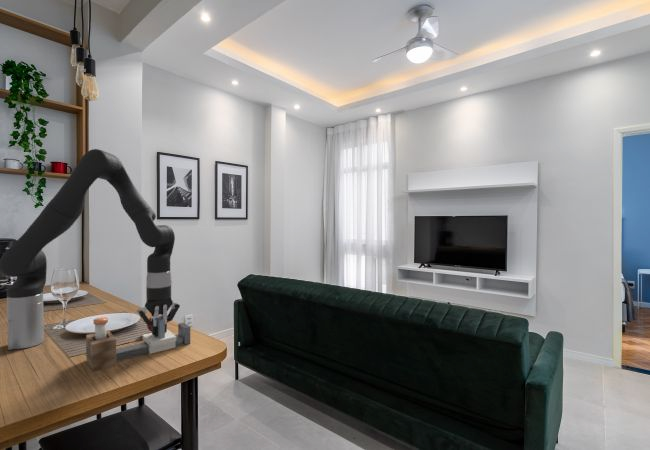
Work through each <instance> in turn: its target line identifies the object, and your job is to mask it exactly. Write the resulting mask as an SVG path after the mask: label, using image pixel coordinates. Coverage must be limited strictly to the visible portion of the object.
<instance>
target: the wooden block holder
mask: <svg viewBox="0 0 650 450" xmlns="http://www.w3.org/2000/svg"><path fill="white" fill-rule="evenodd" d="M85 347H86V349H85V351H86V355H85V357H86V362H87V364H88V366H89V368H90V370H91V372H92V373H94V372H97V371H100V370H101V371H102V370H105V369H109V368H112V367H116V366H117V362H116V349H117V338H116V337H115V336H114V335H113V334H112V332H111V331H110V330H106V338H105V339H100V340H95V332H94V333H90V334H86V335H85Z"/></svg>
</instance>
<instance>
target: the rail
mask: <svg viewBox="0 0 650 450" xmlns="http://www.w3.org/2000/svg"><path fill="white" fill-rule="evenodd" d="M177 326H178V327H177V331H178V332H177V334H174V335H175V336H176V341H175V347H179V346H182V345H184V346H186V345H190V344H191V326H190V325H189V324H187V323H186V322H180V323H177ZM147 354H149V345H148V344H147V343H146V342H143V341H142V342H140V343H136V344H131V345H127V346H122V347H119V348H116V363H117V362H121V361H124V360H129V359H131V358H135V357H139V356H144V355H147Z"/></svg>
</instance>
